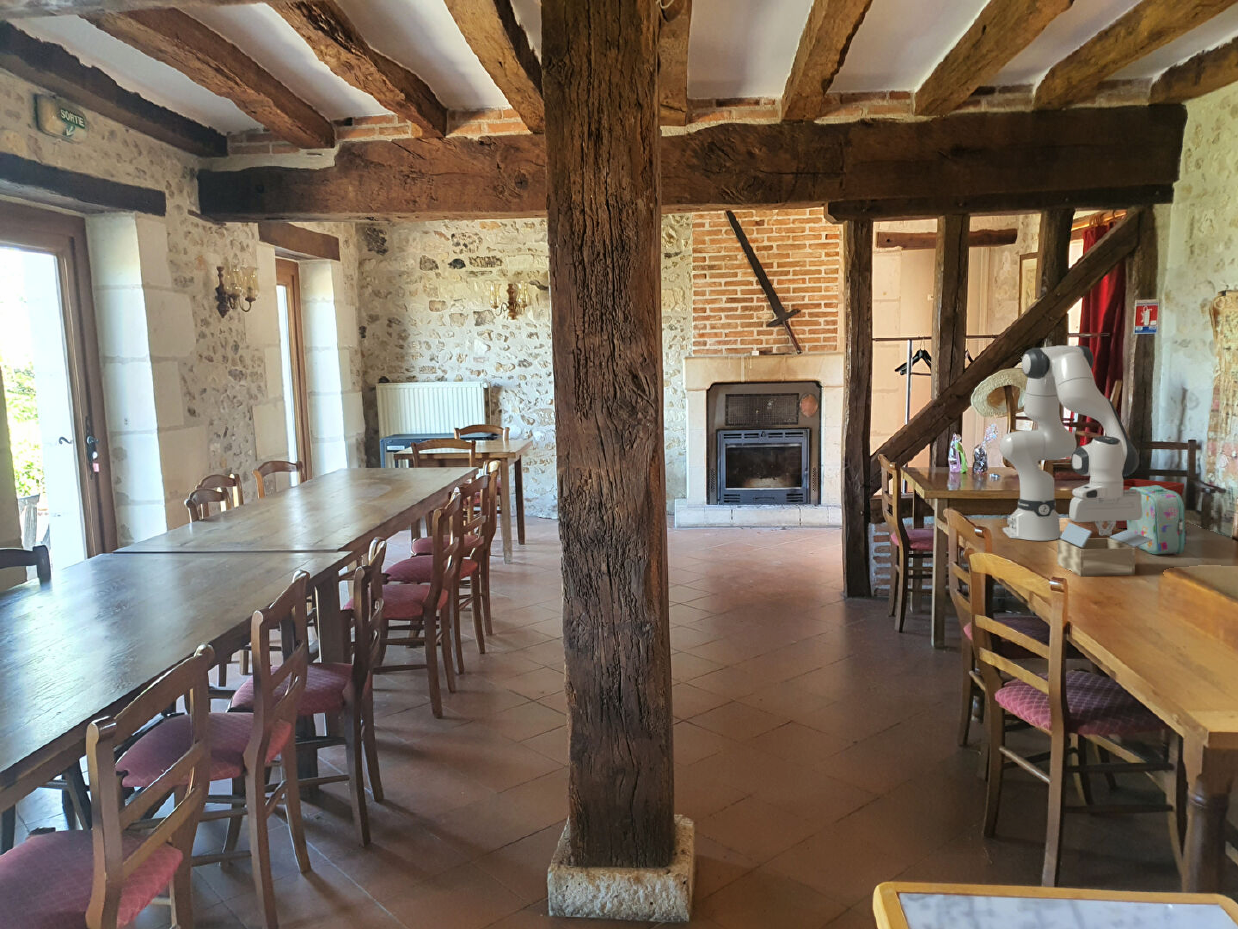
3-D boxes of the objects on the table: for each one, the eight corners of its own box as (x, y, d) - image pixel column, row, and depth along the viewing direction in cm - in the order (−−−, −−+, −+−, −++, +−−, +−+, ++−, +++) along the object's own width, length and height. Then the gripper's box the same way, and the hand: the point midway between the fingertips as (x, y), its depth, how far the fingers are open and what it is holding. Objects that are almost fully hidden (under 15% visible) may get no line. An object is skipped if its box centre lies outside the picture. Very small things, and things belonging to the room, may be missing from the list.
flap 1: (1059, 537, 260) (1069, 522, 260) (1061, 538, 260) (1070, 523, 260) (1081, 547, 247) (1091, 531, 246) (1082, 548, 247) (1092, 531, 246)
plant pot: (1101, 528, 311) (1102, 483, 309) (1131, 521, 320) (1132, 478, 318) (1154, 535, 295) (1155, 489, 293) (1184, 528, 303) (1185, 483, 302)
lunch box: (1191, 558, 262) (1193, 491, 259) (1155, 558, 264) (1156, 492, 261) (1154, 540, 288) (1156, 479, 285) (1122, 540, 290) (1123, 480, 287)
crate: (1057, 564, 262) (1057, 539, 261) (1108, 562, 261) (1108, 537, 260) (1080, 576, 247) (1080, 550, 246) (1134, 574, 246) (1135, 548, 245)
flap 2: (1109, 536, 260) (1126, 529, 259) (1110, 537, 260) (1127, 531, 259) (1133, 545, 246) (1152, 539, 246) (1134, 547, 246) (1152, 540, 246)
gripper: (1135, 487, 254) (1134, 531, 255) (1067, 490, 255) (1066, 534, 257) (1147, 490, 248) (1146, 536, 249) (1077, 493, 249) (1076, 538, 250)
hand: (1105, 535), depth 253 cm, fingers closed
